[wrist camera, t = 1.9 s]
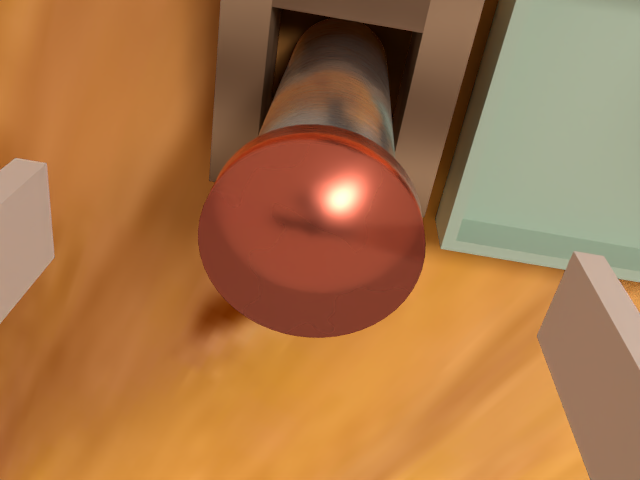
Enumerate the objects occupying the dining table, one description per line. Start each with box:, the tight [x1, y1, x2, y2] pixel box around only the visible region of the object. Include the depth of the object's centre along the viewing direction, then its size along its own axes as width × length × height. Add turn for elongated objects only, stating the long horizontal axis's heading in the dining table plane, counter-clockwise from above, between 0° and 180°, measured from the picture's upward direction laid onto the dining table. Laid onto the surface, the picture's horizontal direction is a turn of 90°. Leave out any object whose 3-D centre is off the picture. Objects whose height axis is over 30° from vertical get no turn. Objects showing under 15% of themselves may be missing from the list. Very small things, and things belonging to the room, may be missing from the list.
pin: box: [198, 18, 426, 338], centre depth 22 cm, size 6×6×16 cm
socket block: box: [209, 0, 485, 217], centre depth 27 cm, size 10×10×4 cm
